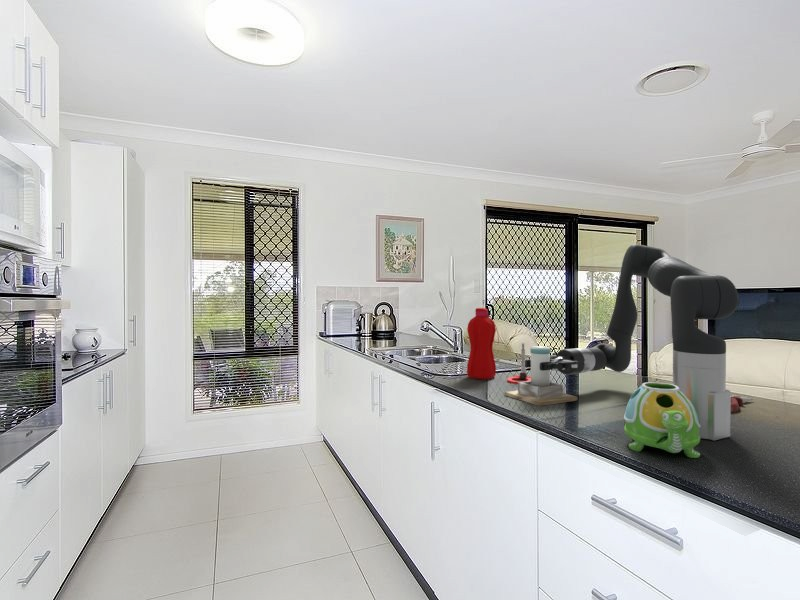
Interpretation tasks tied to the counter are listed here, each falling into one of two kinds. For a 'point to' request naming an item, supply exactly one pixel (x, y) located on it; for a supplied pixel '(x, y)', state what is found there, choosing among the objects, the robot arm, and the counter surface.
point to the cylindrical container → (537, 375)
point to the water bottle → (481, 346)
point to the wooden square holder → (540, 394)
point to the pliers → (738, 402)
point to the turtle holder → (662, 419)
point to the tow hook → (523, 370)
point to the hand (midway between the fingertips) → (533, 365)
